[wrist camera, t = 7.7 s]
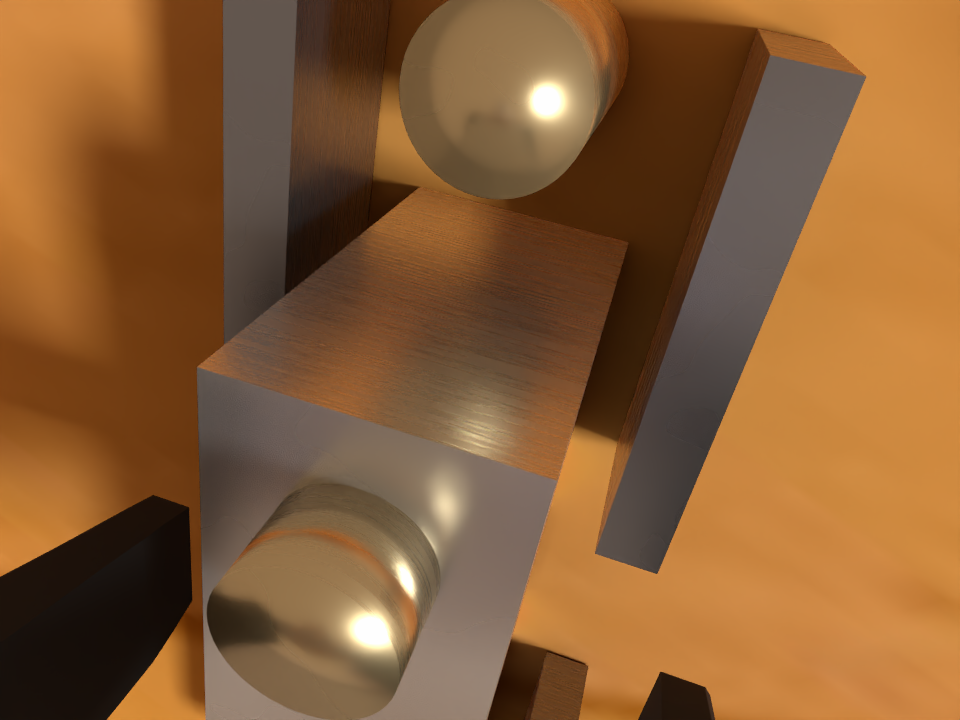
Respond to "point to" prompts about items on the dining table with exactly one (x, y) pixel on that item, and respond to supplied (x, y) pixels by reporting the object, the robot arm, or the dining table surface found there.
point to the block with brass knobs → (392, 463)
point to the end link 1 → (526, 184)
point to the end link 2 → (558, 690)
